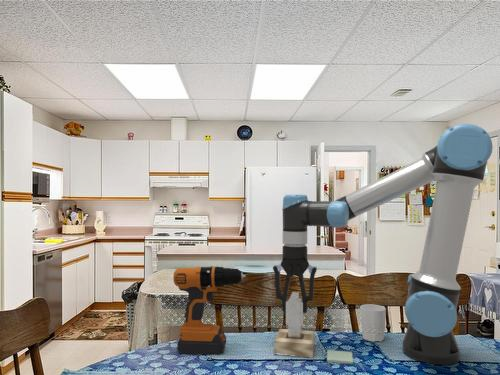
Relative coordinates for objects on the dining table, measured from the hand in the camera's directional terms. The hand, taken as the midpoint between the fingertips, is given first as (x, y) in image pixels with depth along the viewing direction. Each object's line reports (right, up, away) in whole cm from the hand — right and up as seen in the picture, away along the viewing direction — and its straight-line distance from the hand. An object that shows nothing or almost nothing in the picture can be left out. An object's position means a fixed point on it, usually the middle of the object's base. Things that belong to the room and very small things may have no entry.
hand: (294, 322), depth 115 cm
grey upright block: (0, -5, 0) cm, 5 cm away
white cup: (+27, -9, +9) cm, 30 cm away
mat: (+12, -8, -7) cm, 16 cm away
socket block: (0, -8, 0) cm, 8 cm away
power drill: (-26, -8, -1) cm, 27 cm away
